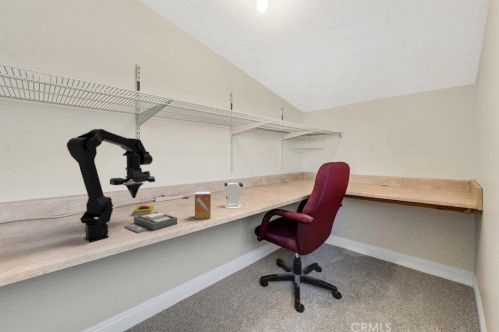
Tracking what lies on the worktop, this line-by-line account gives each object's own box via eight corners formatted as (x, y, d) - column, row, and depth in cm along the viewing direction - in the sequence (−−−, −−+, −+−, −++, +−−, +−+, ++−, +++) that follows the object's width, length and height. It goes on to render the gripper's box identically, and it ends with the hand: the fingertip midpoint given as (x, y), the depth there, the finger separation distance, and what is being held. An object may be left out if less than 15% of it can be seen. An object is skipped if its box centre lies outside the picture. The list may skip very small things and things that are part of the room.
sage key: (157, 226, 99) (157, 221, 99) (152, 224, 101) (152, 220, 101) (171, 222, 104) (171, 218, 104) (166, 220, 107) (166, 216, 106)
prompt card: (137, 233, 93) (137, 231, 93) (124, 227, 100) (124, 225, 100) (147, 230, 96) (147, 228, 96) (133, 225, 103) (133, 223, 103)
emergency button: (132, 209, 116) (137, 203, 131) (132, 217, 117) (137, 210, 131) (151, 208, 119) (154, 202, 134) (151, 216, 120) (154, 209, 134)
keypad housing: (153, 230, 96) (153, 224, 96) (133, 223, 106) (133, 217, 106) (177, 223, 106) (177, 217, 106) (157, 217, 116) (157, 211, 116)
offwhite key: (150, 221, 102) (150, 217, 102) (146, 220, 104) (146, 215, 104) (164, 218, 107) (164, 213, 107) (159, 216, 110) (159, 212, 110)
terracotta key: (144, 221, 105) (144, 217, 105) (140, 220, 107) (140, 216, 107) (158, 218, 111) (158, 214, 111) (153, 216, 113) (153, 213, 113)
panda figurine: (241, 204, 148) (241, 181, 147) (243, 208, 137) (244, 184, 136) (223, 204, 146) (223, 181, 145) (224, 208, 135) (224, 184, 134)
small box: (194, 219, 113) (194, 194, 112) (195, 215, 119) (194, 191, 119) (210, 218, 115) (210, 193, 114) (210, 215, 121) (210, 191, 120)
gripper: (119, 166, 93) (119, 203, 94) (160, 165, 108) (161, 197, 109) (108, 165, 100) (109, 200, 101) (149, 164, 115) (149, 194, 116)
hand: (133, 198), depth 106 cm, fingers closed
